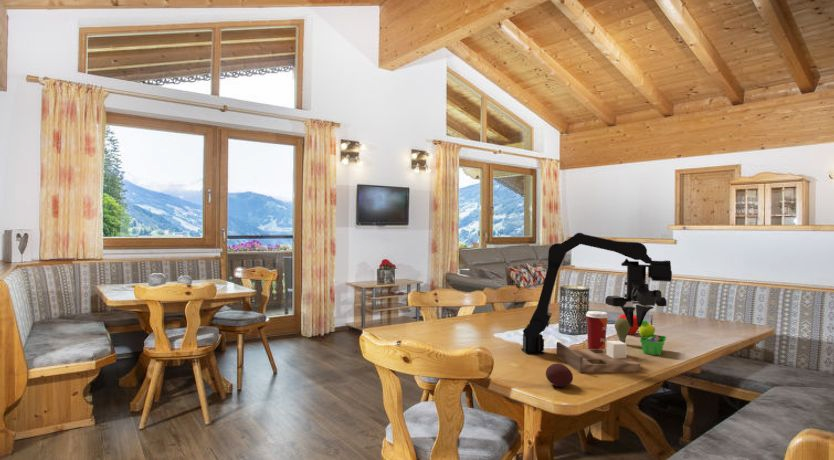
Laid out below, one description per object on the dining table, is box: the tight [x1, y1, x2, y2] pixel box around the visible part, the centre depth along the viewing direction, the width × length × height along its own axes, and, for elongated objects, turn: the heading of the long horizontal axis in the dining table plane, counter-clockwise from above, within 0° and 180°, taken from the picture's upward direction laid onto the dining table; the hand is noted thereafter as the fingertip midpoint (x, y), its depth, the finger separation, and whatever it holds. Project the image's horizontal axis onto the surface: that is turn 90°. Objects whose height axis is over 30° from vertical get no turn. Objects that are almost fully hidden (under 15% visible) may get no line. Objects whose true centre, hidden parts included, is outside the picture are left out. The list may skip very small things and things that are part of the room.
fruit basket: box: [638, 319, 667, 356], centre depth 176 cm, size 11×9×11 cm
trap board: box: [555, 341, 641, 374], centre depth 159 cm, size 20×18×5 cm
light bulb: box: [614, 317, 630, 344], centre depth 186 cm, size 6×6×10 cm
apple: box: [618, 313, 639, 335], centre depth 205 cm, size 9×9×8 cm
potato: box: [545, 362, 574, 388], centre depth 138 cm, size 8×9×6 cm
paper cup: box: [585, 310, 609, 349], centre depth 176 cm, size 8×8×14 cm
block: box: [605, 340, 627, 358], centre depth 160 cm, size 4×4×4 cm
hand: (635, 326), depth 161 cm, fingers open, 2 cm apart
